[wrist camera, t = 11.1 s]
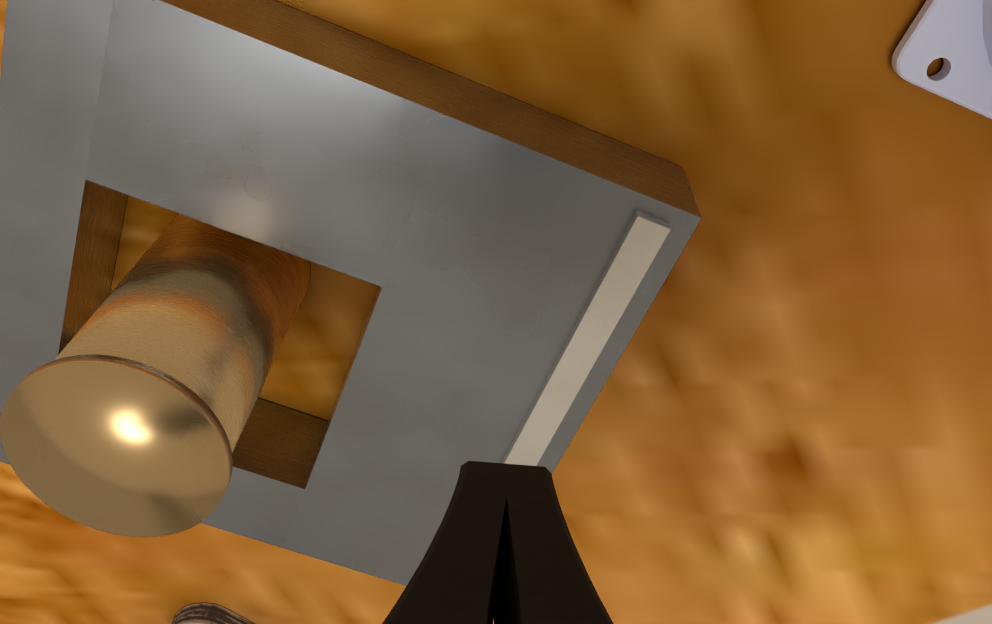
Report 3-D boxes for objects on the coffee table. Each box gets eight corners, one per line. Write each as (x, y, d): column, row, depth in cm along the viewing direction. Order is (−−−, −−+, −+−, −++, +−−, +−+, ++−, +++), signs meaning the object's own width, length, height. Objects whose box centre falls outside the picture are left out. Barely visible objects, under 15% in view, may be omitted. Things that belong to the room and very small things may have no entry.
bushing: (320, 201, 22) (224, 381, 16) (315, 339, 25) (231, 549, 18) (151, 177, 22) (-19, 348, 15) (163, 319, 25) (18, 522, 18)
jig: (682, 167, 21) (703, 224, 19) (480, 533, 28) (473, 614, 26) (83, -79, 19) (4, -57, 16) (22, 386, 26) (-41, 458, 23)
